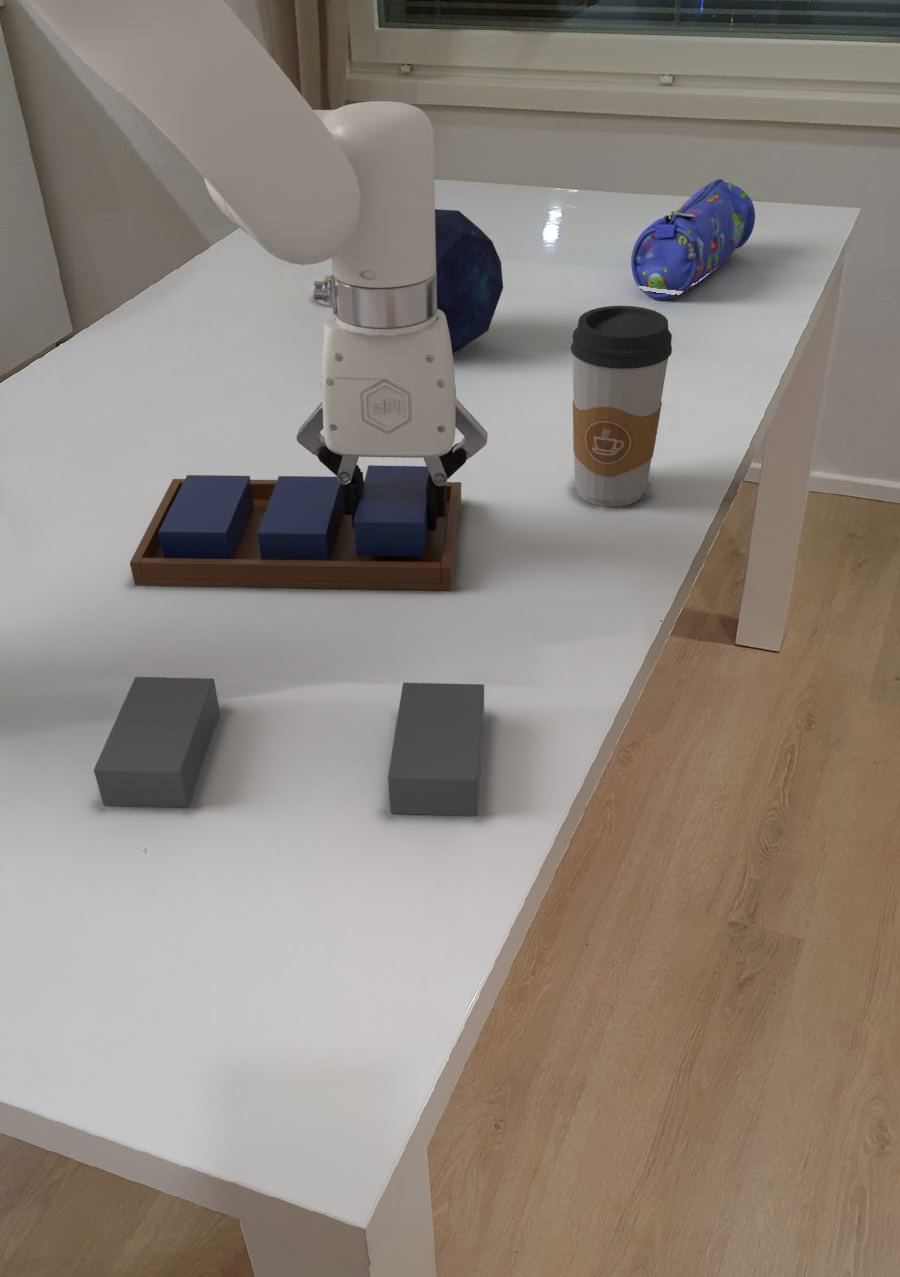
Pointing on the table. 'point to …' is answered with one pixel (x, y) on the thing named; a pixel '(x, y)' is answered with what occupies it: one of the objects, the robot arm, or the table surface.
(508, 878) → the table surface
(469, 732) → the grey book
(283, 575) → the book tray
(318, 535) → the navy book
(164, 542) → the navy book
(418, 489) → the navy book
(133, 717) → the grey book
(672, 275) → the pencil case
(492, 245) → the decorative orb
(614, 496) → the coffee cup
